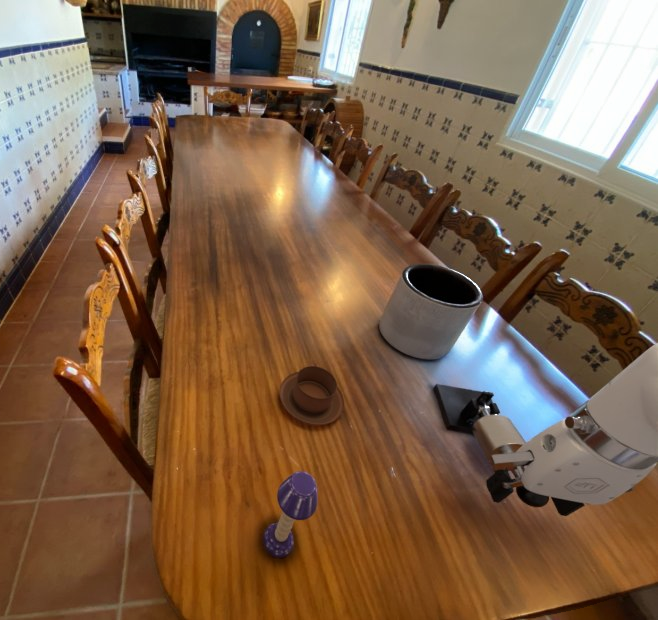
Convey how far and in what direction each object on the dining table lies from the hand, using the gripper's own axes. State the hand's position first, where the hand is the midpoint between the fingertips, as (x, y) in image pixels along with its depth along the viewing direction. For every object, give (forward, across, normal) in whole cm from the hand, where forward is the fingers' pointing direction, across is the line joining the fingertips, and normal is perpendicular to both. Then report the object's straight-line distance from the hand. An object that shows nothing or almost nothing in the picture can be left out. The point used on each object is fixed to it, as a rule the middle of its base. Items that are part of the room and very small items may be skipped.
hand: (524, 498), depth 51 cm
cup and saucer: (+5, -30, +14) cm, 33 cm away
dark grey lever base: (+5, 0, +18) cm, 19 cm away
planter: (+5, -6, +38) cm, 39 cm away
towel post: (+1, 0, +17) cm, 17 cm away
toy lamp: (+5, -34, -10) cm, 36 cm away
